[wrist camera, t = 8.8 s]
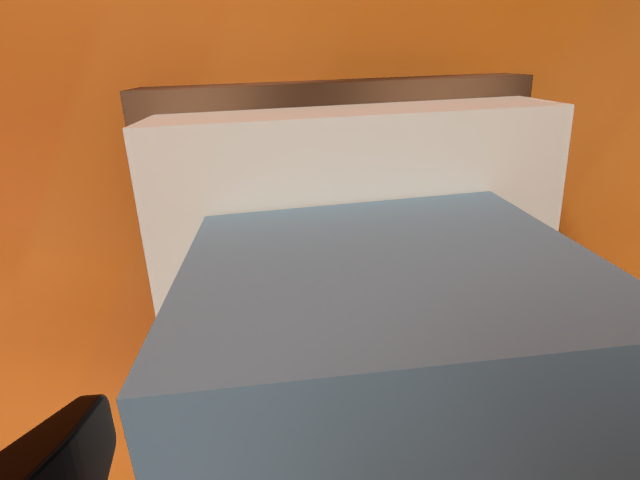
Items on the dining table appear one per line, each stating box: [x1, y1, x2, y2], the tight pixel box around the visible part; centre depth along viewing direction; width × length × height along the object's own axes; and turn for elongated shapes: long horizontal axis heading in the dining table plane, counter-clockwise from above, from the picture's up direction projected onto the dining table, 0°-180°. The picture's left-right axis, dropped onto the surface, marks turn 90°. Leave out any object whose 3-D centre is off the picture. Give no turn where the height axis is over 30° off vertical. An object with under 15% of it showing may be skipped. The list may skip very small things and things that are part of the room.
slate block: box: [116, 191, 640, 480], centre depth 9 cm, size 6×6×6 cm
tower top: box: [123, 96, 574, 316], centre depth 13 cm, size 9×9×2 cm
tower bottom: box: [120, 73, 533, 127], centre depth 15 cm, size 10×10×2 cm
